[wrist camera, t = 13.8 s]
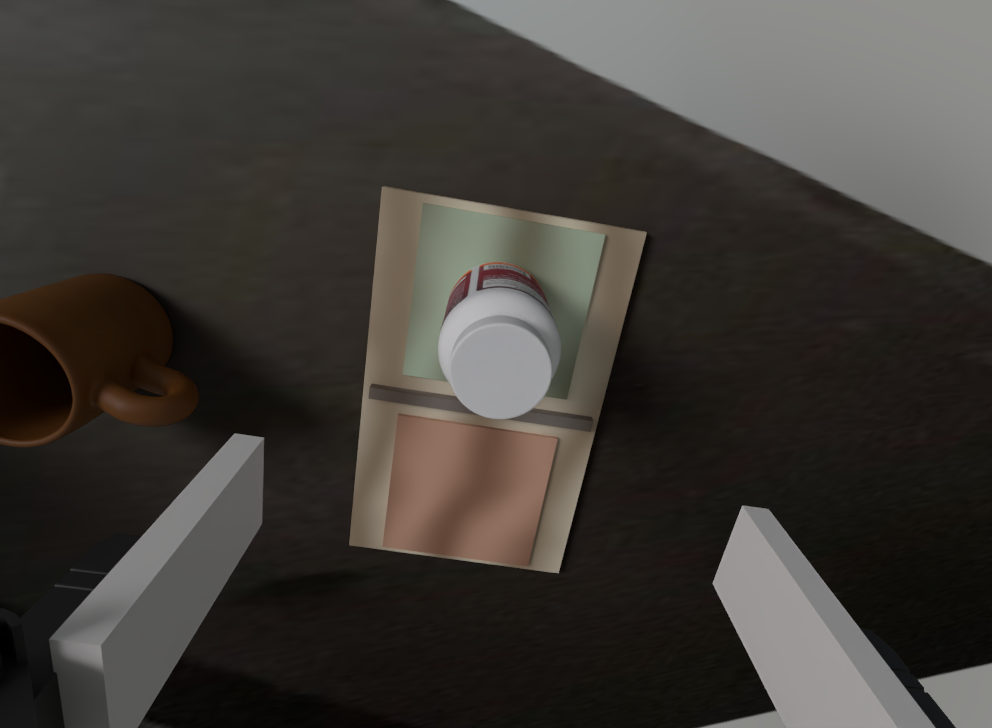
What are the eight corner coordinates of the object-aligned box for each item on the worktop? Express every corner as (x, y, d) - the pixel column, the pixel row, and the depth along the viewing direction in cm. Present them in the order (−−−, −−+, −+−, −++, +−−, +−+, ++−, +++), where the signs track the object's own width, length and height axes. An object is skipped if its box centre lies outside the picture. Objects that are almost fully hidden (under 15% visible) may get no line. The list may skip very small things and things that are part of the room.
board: (351, 539, 43) (346, 551, 42) (383, 186, 34) (379, 187, 32) (557, 567, 44) (559, 579, 43) (644, 231, 35) (649, 234, 33)
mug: (254, 311, 36) (177, 363, 28) (236, 412, 39) (161, 489, 30) (61, 254, 35) (-84, 289, 26) (56, 362, 38) (-78, 428, 29)
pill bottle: (478, 370, 37) (472, 456, 27) (429, 289, 35) (402, 348, 25) (563, 327, 36) (591, 399, 26) (518, 240, 34) (529, 281, 24)
